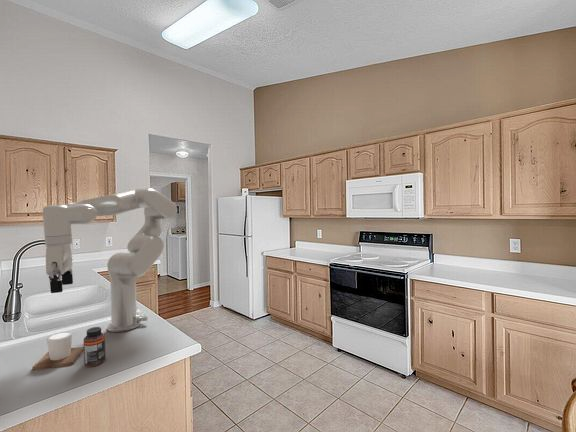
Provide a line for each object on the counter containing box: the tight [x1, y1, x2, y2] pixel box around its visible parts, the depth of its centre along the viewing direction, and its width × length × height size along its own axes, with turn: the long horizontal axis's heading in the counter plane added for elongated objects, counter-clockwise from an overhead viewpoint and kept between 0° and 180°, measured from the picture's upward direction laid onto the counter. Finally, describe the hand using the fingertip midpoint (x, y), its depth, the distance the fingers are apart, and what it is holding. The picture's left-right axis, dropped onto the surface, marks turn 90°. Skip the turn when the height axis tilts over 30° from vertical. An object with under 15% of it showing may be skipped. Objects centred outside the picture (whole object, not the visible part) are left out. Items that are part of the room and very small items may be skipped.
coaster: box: [32, 346, 84, 371], centre depth 101 cm, size 11×11×1 cm
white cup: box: [46, 331, 73, 360], centre depth 100 cm, size 7×7×7 cm
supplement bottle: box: [83, 326, 106, 368], centre depth 98 cm, size 6×6×11 cm
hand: (62, 288), depth 105 cm, fingers open, 9 cm apart
